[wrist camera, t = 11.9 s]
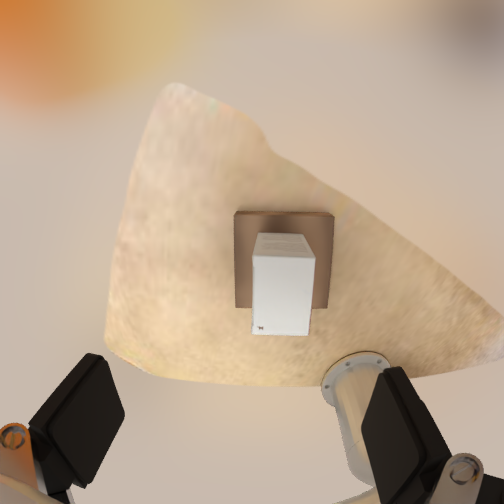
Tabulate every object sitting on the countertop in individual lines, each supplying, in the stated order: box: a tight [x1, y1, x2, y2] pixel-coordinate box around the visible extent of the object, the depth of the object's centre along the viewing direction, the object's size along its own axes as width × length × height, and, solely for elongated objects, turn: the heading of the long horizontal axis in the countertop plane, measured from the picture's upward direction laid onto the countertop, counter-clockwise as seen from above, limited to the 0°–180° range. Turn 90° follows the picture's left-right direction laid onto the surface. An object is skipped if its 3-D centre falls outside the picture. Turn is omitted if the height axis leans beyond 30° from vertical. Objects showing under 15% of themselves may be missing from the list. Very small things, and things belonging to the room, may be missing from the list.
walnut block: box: [234, 211, 334, 309], centre depth 38 cm, size 12×12×4 cm
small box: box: [251, 233, 316, 336], centre depth 31 cm, size 8×6×10 cm
